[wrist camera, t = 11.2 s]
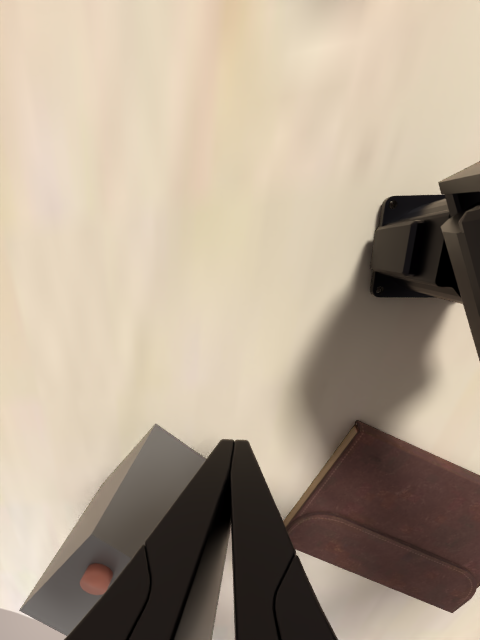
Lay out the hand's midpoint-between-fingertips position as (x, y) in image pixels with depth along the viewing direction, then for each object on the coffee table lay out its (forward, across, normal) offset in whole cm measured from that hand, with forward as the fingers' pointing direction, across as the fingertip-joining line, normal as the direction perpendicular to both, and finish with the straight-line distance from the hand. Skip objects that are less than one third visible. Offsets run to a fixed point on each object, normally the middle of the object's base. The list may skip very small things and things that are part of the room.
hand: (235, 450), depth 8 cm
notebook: (+13, -15, +19) cm, 27 cm away
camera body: (+12, +9, +15) cm, 21 cm away
